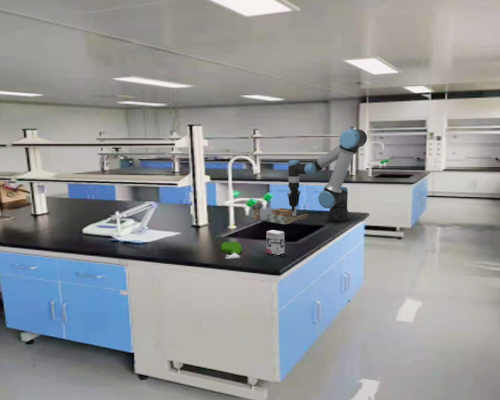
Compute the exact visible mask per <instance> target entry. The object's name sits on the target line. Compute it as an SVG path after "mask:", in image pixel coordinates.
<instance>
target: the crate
mask: <svg viewBox="0 0 500 400" xmlns="http://www.w3.org/2000/svg"><path fill="white" fill-rule="evenodd" d="M271 212H272V213H271V214H272V215H279V216H285V217H287V218H289V217H292V208H290V209H288V208H283V207H282V208H281V207H280V208H277V209H272V210H271Z"/></svg>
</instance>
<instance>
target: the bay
mask: <svg viewBox="0 0 500 400" xmlns="http://www.w3.org/2000/svg"><path fill="white" fill-rule="evenodd" d="M306 218H307V219H308V218H309V213H305V214H301V215H296V216H291V217H289V218H287V217H285V216H279V215H272V213H267V214H266V222H268V223H275V224H280V225H288V224H292V223H294V222H293V221H296V222H298V221H297V220H300V221H303V220H306ZM302 219H303V220H302ZM291 222H292V223H291Z"/></svg>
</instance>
